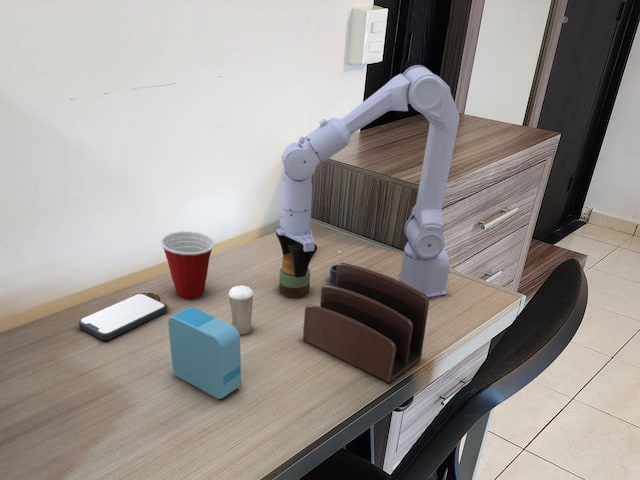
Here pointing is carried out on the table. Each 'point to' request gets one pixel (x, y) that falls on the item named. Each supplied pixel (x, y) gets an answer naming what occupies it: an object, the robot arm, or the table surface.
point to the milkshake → (241, 308)
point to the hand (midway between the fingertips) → (295, 269)
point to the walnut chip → (294, 291)
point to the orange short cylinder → (288, 264)
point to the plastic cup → (188, 261)
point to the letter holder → (369, 321)
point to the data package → (205, 352)
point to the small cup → (333, 274)
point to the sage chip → (294, 279)
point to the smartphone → (122, 316)
